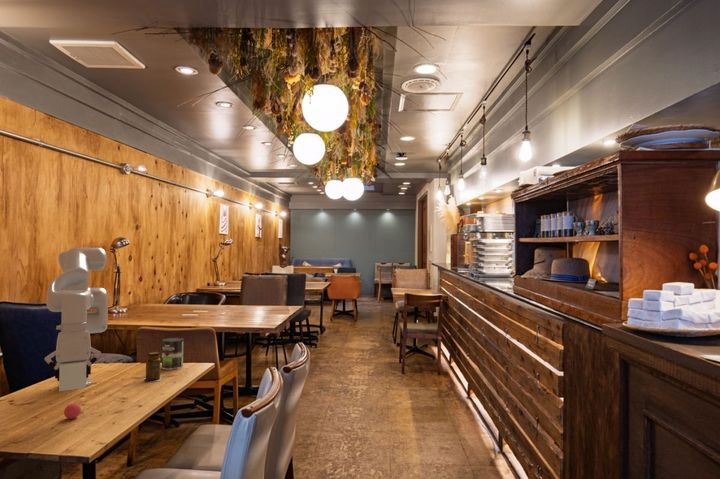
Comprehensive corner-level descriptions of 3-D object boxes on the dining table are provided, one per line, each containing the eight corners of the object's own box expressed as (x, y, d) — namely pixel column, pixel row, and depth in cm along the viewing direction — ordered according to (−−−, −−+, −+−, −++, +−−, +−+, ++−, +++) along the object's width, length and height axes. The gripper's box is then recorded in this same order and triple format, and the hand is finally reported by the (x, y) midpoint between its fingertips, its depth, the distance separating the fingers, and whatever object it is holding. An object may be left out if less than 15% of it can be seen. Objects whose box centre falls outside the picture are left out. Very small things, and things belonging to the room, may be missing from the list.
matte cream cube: (60, 385, 156) (60, 360, 156) (86, 382, 160) (86, 357, 160) (59, 391, 150) (59, 364, 150) (85, 387, 154) (86, 362, 154)
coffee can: (176, 370, 221) (176, 341, 221) (157, 369, 222) (157, 340, 223) (187, 365, 231) (187, 337, 231) (169, 364, 233) (169, 337, 233)
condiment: (160, 376, 210) (161, 350, 210) (161, 381, 202) (162, 354, 203) (143, 378, 207) (144, 352, 207) (143, 383, 199) (144, 356, 199)
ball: (63, 415, 152) (63, 422, 155) (80, 412, 155) (80, 420, 158) (64, 402, 155) (64, 409, 158) (81, 399, 158) (81, 407, 161)
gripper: (42, 331, 148) (41, 385, 147) (103, 327, 157) (102, 377, 156) (44, 328, 154) (43, 379, 154) (102, 324, 163) (101, 372, 163)
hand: (73, 378), depth 155 cm, fingers closed on matte cream cube, 7 cm apart
